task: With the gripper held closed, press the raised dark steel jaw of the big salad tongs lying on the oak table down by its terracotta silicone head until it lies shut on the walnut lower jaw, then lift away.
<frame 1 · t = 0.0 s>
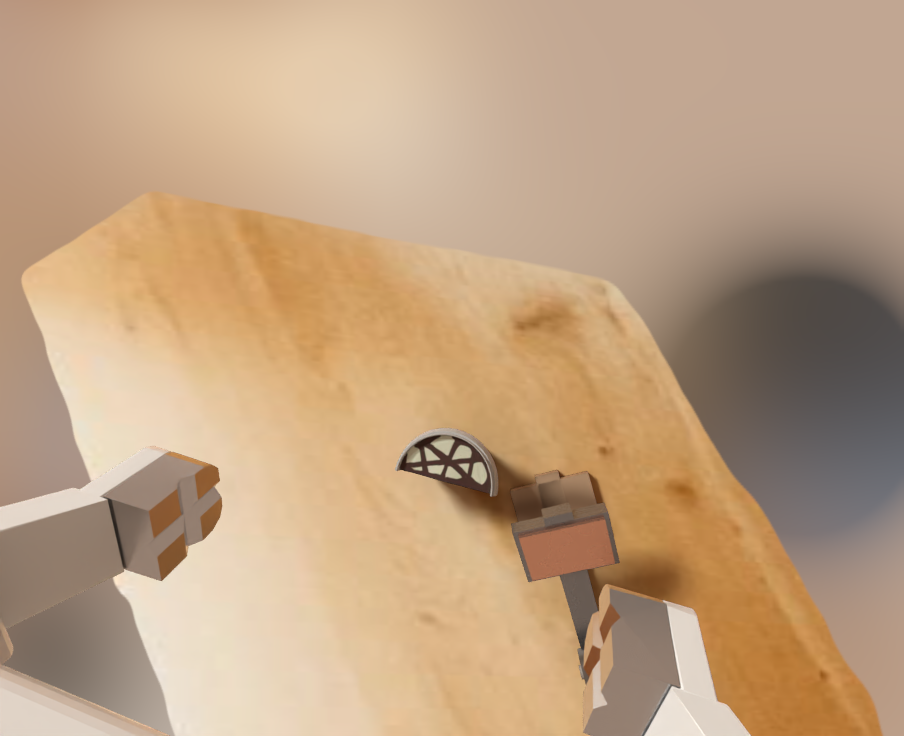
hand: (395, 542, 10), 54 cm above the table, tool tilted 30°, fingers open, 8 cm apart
walnut jaw: (573, 570, 60), on the table
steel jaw: (576, 582, 53), point 7 cm above the table, hinge at 28.0°
food container: (461, 449, 64), on the table
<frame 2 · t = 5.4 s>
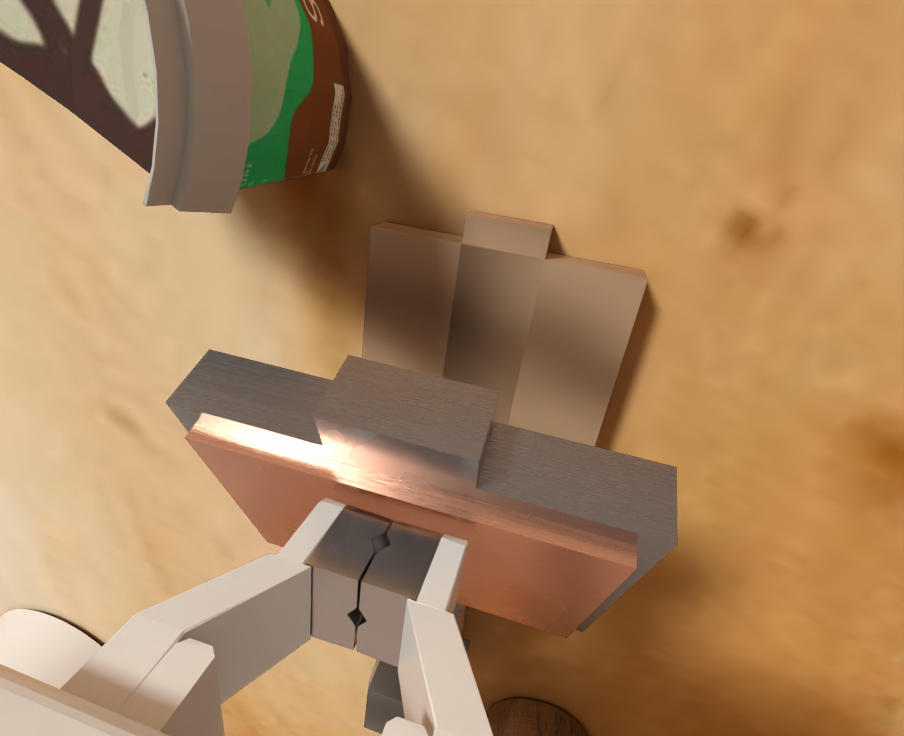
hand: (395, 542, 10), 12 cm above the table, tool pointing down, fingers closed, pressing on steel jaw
walnut jaw: (463, 484, 23), on the table
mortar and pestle: (537, 730, 29), on the table
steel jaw: (422, 579, 16), point 7 cm above the table, hinge at 26.0°, touching gripper
food container: (272, 12, 17), on the table
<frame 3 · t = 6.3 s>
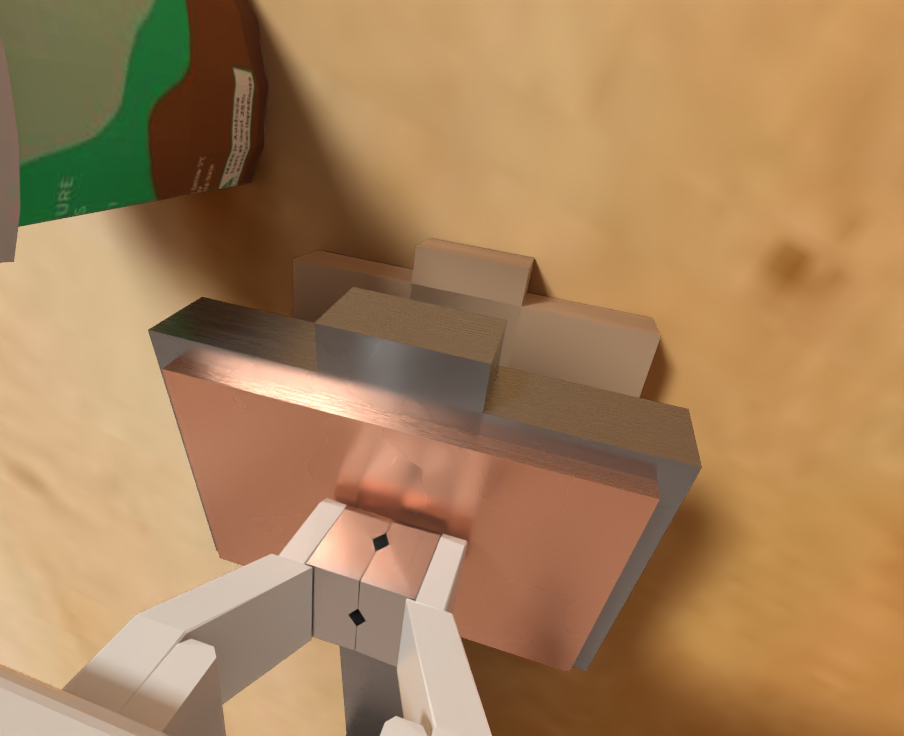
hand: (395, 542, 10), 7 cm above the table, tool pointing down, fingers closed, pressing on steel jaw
walnut jaw: (428, 567, 19), on the table
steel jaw: (394, 625, 14), point 4 cm above the table, hinge at 10.4°, touching gripper
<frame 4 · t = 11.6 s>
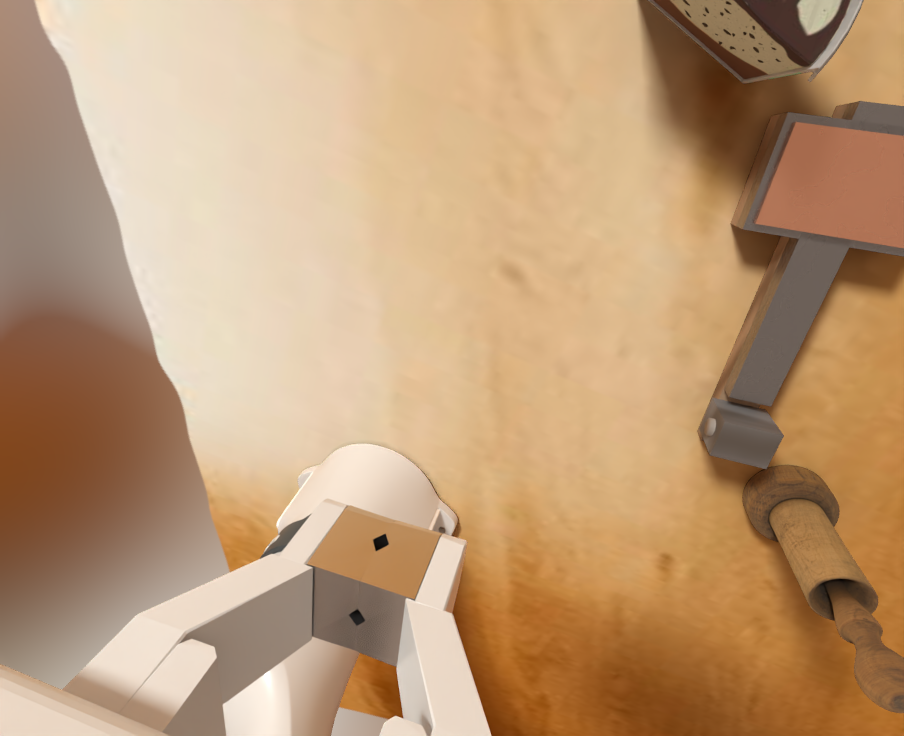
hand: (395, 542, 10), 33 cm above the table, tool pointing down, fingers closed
walnut jaw: (777, 296, 36), on the table
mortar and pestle: (783, 494, 42), on the table
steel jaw: (806, 271, 33), point 2 cm above the table, hinge at -0.3°, touching walnut jaw
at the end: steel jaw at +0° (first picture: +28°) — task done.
